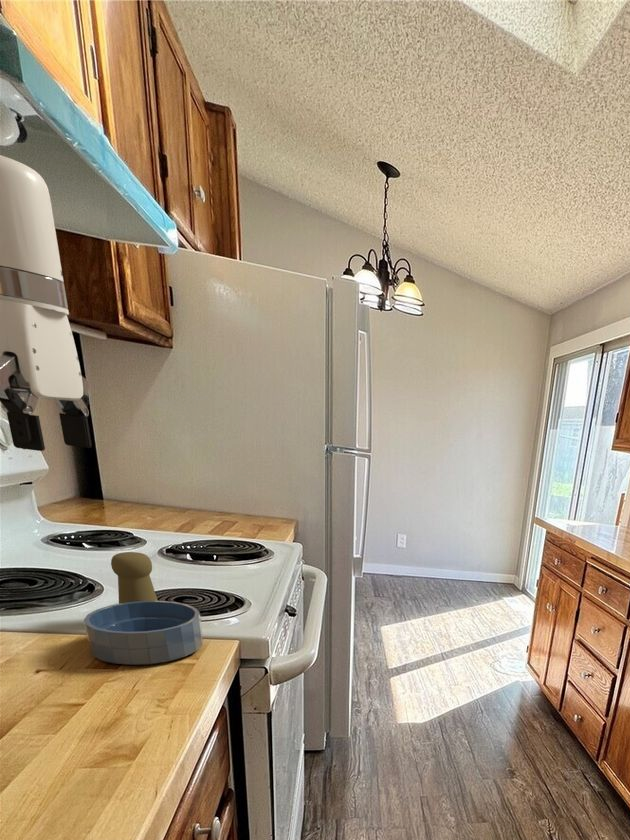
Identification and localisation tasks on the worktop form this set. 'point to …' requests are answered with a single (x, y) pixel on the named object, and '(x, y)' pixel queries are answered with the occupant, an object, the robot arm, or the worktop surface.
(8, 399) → the robot arm
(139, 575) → the olive pawn
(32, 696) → the worktop surface
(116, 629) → the bowl
